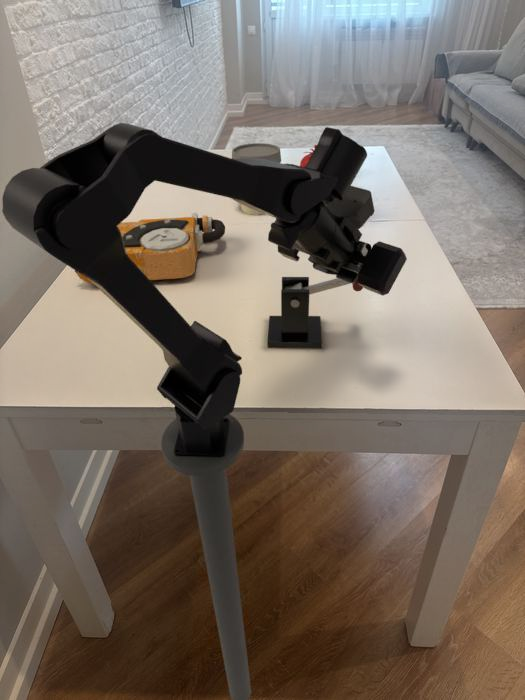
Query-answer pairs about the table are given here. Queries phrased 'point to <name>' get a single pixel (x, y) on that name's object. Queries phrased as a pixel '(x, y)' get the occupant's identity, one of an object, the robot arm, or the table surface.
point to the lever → (325, 286)
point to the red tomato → (306, 158)
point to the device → (167, 244)
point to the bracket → (294, 319)
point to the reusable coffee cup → (259, 152)
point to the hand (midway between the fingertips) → (358, 274)
